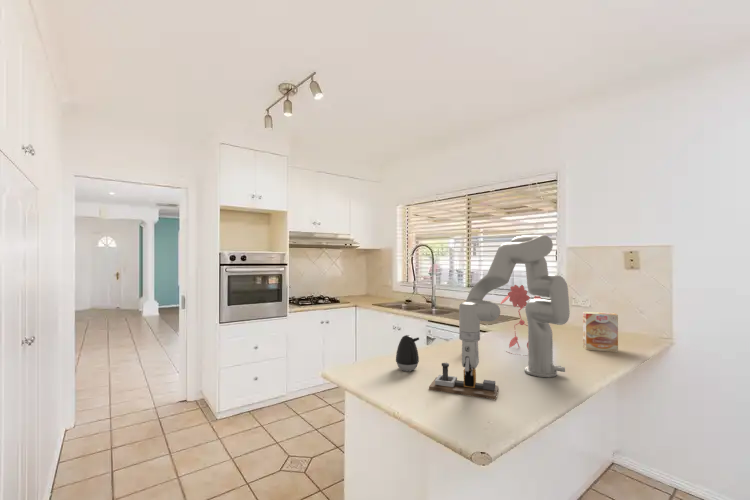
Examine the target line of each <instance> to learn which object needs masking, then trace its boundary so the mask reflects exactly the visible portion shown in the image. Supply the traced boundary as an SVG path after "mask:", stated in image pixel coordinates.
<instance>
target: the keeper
mask: <svg viewBox="0 0 750 500" xmlns="http://www.w3.org/2000/svg"><path fill="white" fill-rule="evenodd" d="M441 367H442V375H443V381H448V376H449V367H450V363H448V362H442V363H441ZM437 377H438V376H436V377H434V379H433V381H432V382H431V383H430V385H429V386H428V390H429V391H435V392H442V393H450V394H456V395H463V396H469V397H476V398H483V399H489V400H494V399H495V401H496V400H497V397H496V396H498V393H497V392H499V385H496V384H495V390H487V389H482V388H472V387H464V386H459V385H454V387H449V386H441V385H435V380H436V378H437ZM457 381H461V380H460V379H457Z"/></svg>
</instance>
